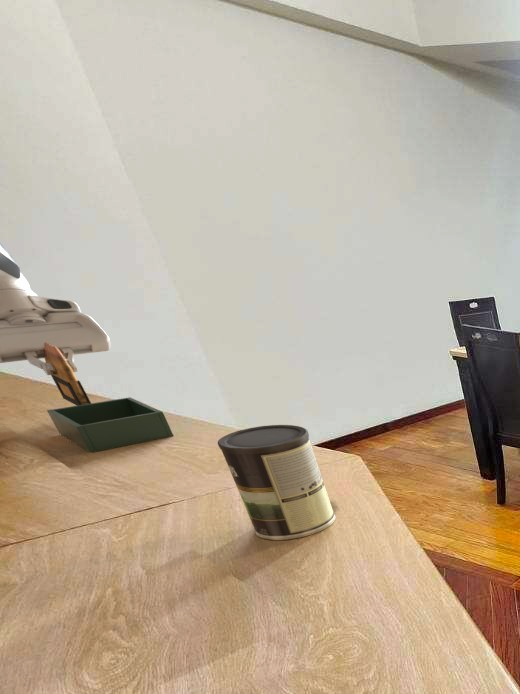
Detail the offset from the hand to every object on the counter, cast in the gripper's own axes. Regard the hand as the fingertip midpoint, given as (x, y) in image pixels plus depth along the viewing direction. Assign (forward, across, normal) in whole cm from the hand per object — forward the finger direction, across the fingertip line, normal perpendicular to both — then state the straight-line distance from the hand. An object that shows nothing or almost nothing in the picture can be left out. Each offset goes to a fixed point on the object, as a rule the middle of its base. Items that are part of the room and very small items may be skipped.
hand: (62, 371), depth 121 cm
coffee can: (+68, +1, -53) cm, 86 cm away
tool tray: (+19, 0, -5) cm, 20 cm away
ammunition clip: (+4, 0, +5) cm, 7 cm away
